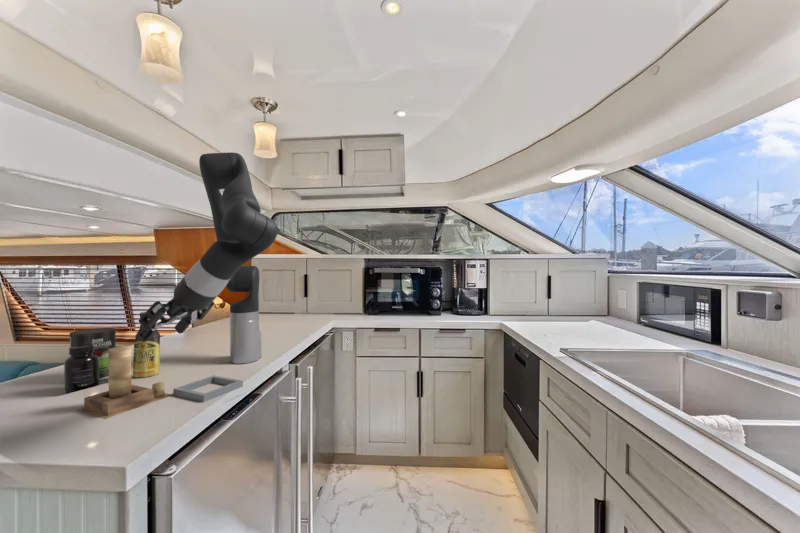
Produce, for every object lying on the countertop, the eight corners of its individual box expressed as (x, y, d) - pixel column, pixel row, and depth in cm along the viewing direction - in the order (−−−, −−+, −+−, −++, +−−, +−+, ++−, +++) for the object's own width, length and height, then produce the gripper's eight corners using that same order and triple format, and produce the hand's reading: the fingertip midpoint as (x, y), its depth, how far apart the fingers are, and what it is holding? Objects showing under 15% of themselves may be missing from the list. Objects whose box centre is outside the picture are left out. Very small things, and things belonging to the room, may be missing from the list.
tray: (213, 386, 93) (213, 375, 93) (242, 392, 89) (242, 380, 89) (173, 400, 83) (173, 388, 83) (203, 408, 79) (203, 395, 79)
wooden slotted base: (146, 394, 87) (145, 377, 87) (173, 400, 83) (173, 382, 83) (77, 416, 75) (76, 396, 75) (105, 425, 70) (104, 404, 70)
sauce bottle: (128, 384, 95) (127, 314, 95) (139, 377, 101) (138, 311, 101) (155, 382, 96) (154, 313, 96) (164, 375, 102) (163, 310, 102)
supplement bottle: (64, 390, 90) (64, 345, 90) (98, 384, 95) (98, 341, 95) (64, 397, 86) (63, 350, 86) (100, 390, 90) (99, 345, 90)
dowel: (125, 399, 80) (124, 345, 80) (135, 402, 78) (134, 346, 78) (104, 406, 76) (104, 349, 76) (115, 409, 75) (114, 350, 75)
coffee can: (120, 376, 102) (120, 329, 102) (73, 386, 94) (73, 335, 94) (111, 370, 108) (111, 326, 108) (66, 378, 100) (66, 331, 100)
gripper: (218, 270, 79) (179, 317, 82) (163, 271, 66) (117, 327, 68) (238, 293, 78) (197, 340, 81) (185, 299, 64) (138, 355, 67)
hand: (161, 334), depth 75 cm, fingers open, 8 cm apart
